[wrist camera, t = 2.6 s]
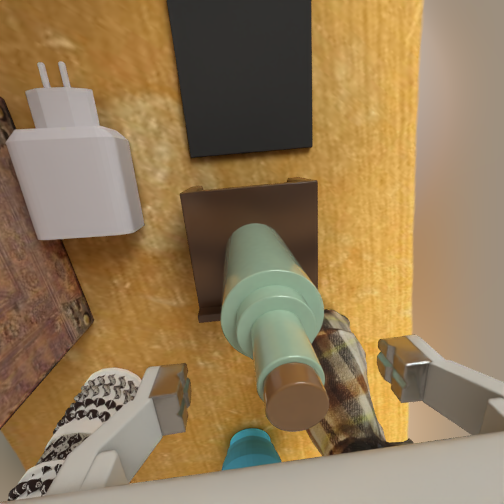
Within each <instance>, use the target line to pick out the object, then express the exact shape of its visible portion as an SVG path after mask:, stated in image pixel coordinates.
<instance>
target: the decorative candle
mask: <svg viewBox="0 0 504 504" xmlns="http://www.w3.org/2000/svg"><path fill="white" fill-rule="evenodd" d="M141 381H142V380H141V379H140V378H139V377H138V375H136V374H134V373H132V372H130V371H128V370H126V369H121V368H115V367H113V368H106V369H101V370H99V371H97V372H95V373H93V374H92V375H91V376H90V377H89V379H88V380H87V381H86V383H85V385H84V386H82V387H81V390H82V391H81V393H78V395H77V396H75V398H74V400H75V401H76V403H72V404H71V405H70V408H68V409H67V410H66V412H65V415H64V416H63V418H62V420H60V421H59V422H58V423H57V427H56V428H55V429H54V431H53V436H52V438H51V439H50V441H49V442H48V444H47V445H46V447H45V451H44V453H43V455H42V456H41V458H40V459H39V461H38V462H37V464H36V465H35V466H34V467H32V468H30V469H28V471H27V472H26V473H25V474H24V476H23V477H22V478H21V480H20V481H19V482H18V485H17V486H16V487H15V488H13V489H12V490H11V491H10V493H9V495H8V497H9V499H8V501H12V500H19V499H26V498H33V497H40V496H45V494H46V492H47V491H48V489H49V487H50V485H51V484H52V482H53V480H54V478H55V477H56V475H57V473H58V471H59V470H60V468H61V466H62V464H63V463H64V461H65V459H66V457H67V456H68V454H69V453H71V452H72V451H73V450H74V449H75V448H76V447H77V446H79V445H80V444H81V443H82V442H83V441H84V440H85V439H87V438H88V437H89V436H90V435H91V434H92V433H93V432H94V431H96V430H97V429H98V428H99V427H100V426H101V425H102V424H104V423H105V422H106V421H107V420H108V419H109V418H110V417H112V416H113V415H114V414H115V413H116V412H117V411H118V410H120V409H121V408H122V407H123V406H124V405H125V404H126V403H128V402H129V401H132V400H134V397H135V395H136V393H137V390H138V388H139V385H140V383H141Z"/></svg>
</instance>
